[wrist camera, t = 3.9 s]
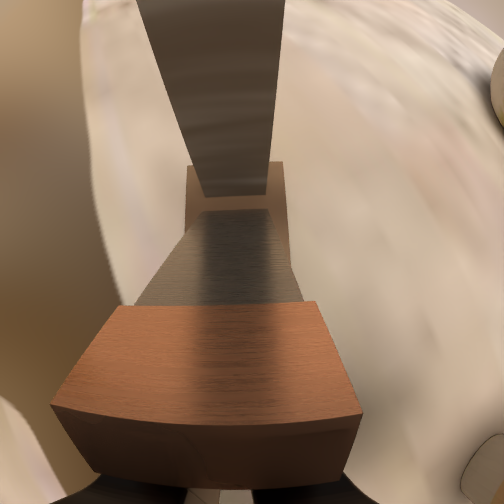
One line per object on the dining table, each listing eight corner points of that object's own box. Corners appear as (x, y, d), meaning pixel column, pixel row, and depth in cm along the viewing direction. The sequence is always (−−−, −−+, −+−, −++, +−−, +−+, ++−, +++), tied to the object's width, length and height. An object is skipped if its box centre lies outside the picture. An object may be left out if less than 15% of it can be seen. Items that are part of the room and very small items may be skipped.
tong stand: (286, 300, 16) (477, 194, 2) (194, 303, 16) (-49, 226, 2) (278, 181, 18) (323, -73, 3) (195, 185, 18) (106, -54, 3)
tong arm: (270, 233, 14) (339, 480, 3) (201, 236, 14) (94, 471, 3) (269, 204, 14) (362, 413, 2) (199, 207, 14) (49, 403, 2)
